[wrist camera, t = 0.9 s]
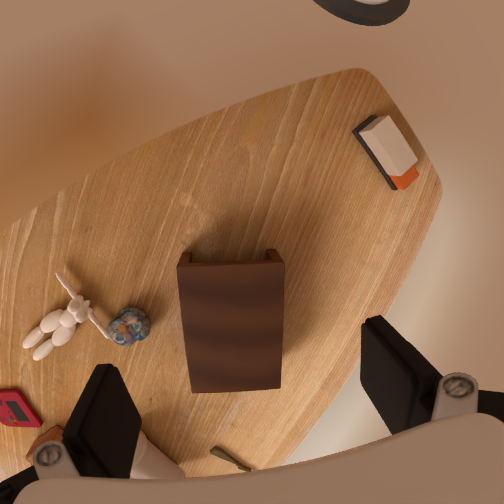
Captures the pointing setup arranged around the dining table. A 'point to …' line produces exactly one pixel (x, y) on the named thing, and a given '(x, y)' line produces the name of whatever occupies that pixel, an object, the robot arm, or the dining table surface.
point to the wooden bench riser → (232, 323)
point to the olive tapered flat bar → (227, 458)
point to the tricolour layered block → (388, 150)
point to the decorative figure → (61, 323)
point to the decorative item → (50, 435)
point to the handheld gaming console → (17, 410)
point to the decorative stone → (129, 327)
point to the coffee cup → (153, 462)
